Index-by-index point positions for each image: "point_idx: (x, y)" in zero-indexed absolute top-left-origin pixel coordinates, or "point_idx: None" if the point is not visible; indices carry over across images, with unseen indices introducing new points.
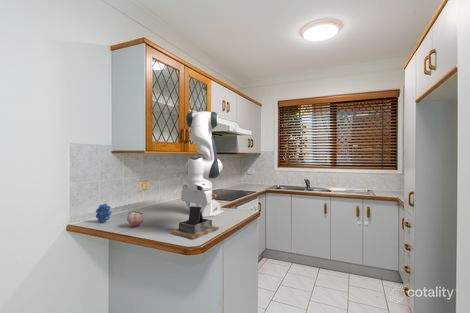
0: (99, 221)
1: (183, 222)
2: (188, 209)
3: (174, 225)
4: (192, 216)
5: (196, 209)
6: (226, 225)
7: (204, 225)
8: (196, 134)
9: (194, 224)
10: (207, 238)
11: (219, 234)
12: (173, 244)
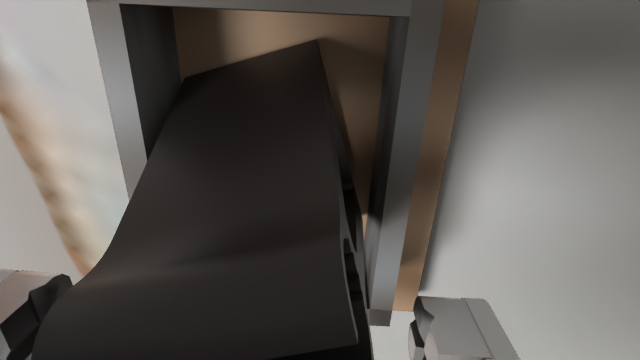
0: None
1: (402, 58)
2: (457, 298)
3: (633, 178)
4: (259, 164)
5: (127, 294)
6: None
7: None
8: None
9: (216, 102)
10: (18, 34)
11: (46, 188)
12: None
